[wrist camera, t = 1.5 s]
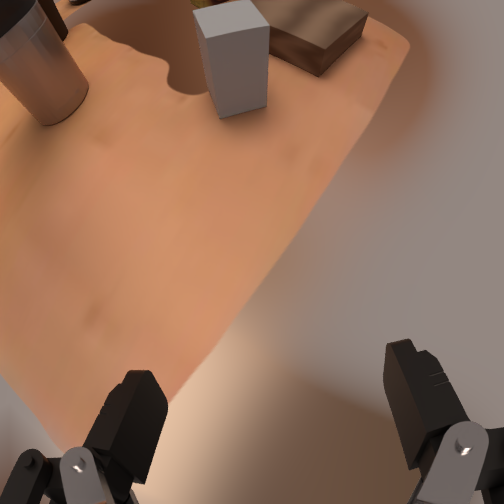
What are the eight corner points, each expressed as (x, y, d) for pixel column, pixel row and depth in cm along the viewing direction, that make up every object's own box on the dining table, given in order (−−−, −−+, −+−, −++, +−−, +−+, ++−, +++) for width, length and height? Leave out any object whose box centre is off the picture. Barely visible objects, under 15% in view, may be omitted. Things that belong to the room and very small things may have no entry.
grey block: (219, 119, 31) (205, 38, 20) (207, 87, 32) (192, 10, 21) (266, 106, 32) (269, 25, 20) (251, 76, 33) (249, -2, 21)
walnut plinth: (230, 38, 34) (228, 11, 30) (284, 2, 37) (286, -20, 32) (318, 77, 33) (325, 49, 28) (361, 35, 35) (368, 12, 30)
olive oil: (68, 20, 38) (26, -60, 14) (73, 38, 37) (22, -55, 12) (27, 49, 37) (-23, -24, 13) (27, 71, 36) (-35, -12, 11)
